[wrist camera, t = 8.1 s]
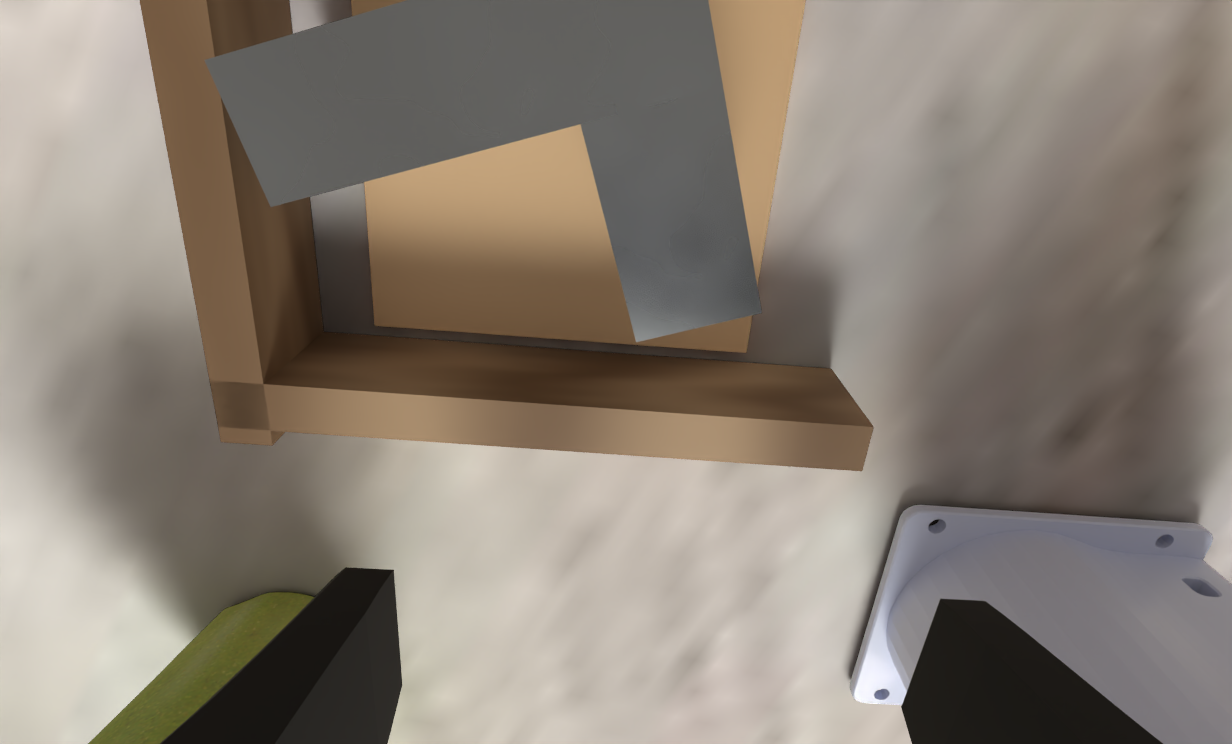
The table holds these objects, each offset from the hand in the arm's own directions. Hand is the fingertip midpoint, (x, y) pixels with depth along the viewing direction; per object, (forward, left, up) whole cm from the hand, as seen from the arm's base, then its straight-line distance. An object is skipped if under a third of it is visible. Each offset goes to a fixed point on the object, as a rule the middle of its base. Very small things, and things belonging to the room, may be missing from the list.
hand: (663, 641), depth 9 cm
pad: (+2, -4, -10) cm, 12 cm away
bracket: (+3, -5, -10) cm, 12 cm away
